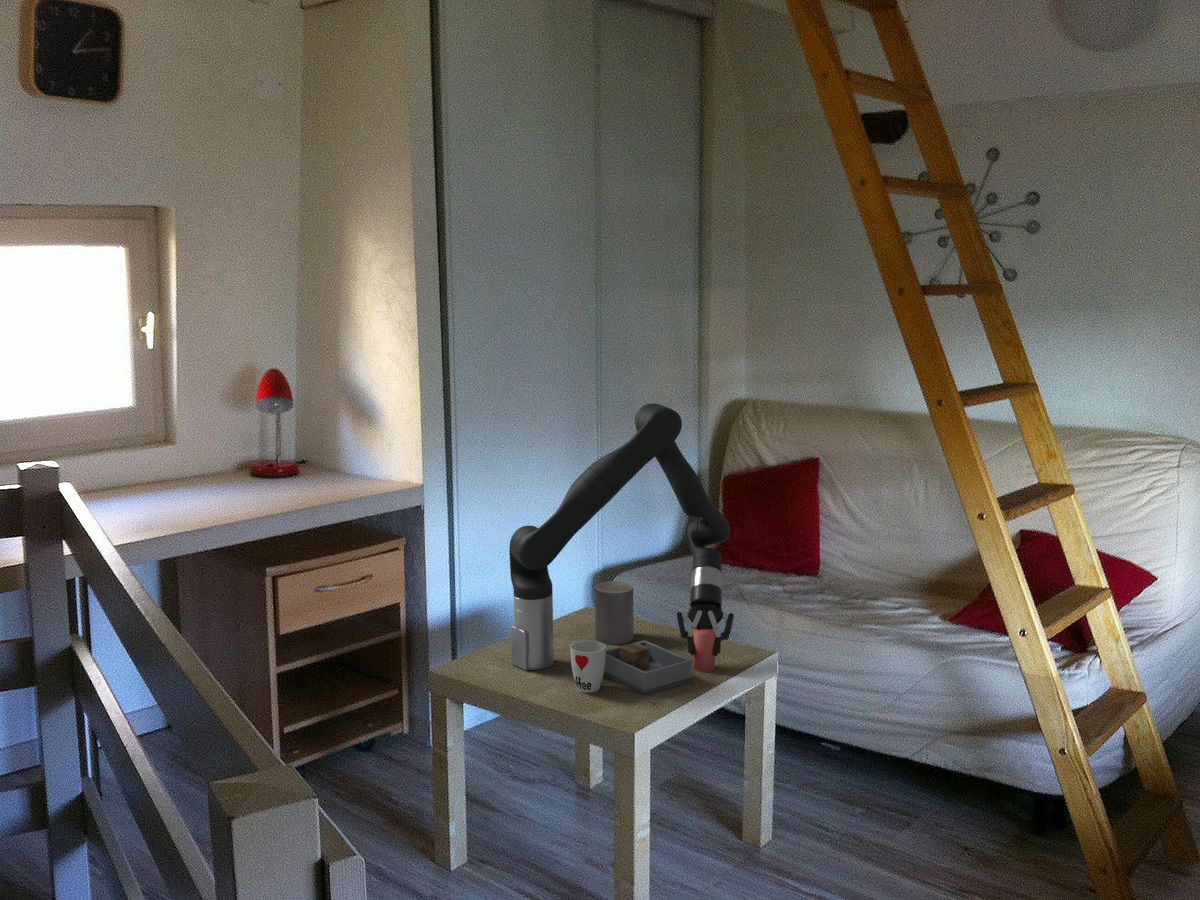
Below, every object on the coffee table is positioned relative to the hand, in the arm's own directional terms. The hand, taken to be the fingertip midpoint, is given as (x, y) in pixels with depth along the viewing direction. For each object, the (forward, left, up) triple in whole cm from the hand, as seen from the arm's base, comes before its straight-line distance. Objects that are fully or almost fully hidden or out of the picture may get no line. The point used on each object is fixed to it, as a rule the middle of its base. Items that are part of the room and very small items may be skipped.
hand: (703, 653), depth 288 cm
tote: (-13, +5, -4) cm, 15 cm away
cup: (-28, +7, -4) cm, 29 cm away
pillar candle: (-3, +31, -4) cm, 32 cm away
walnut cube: (-13, +9, -3) cm, 17 cm away
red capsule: (+1, +1, -4) cm, 5 cm away
